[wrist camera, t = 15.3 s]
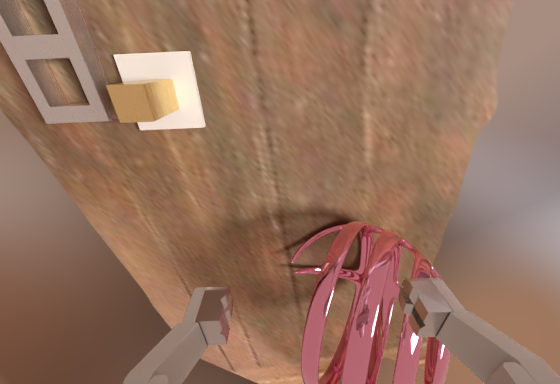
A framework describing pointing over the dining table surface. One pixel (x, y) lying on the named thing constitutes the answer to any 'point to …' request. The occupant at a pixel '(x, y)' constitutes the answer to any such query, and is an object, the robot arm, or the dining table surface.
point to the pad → (184, 82)
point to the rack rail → (65, 45)
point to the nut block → (143, 100)
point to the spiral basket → (366, 311)
